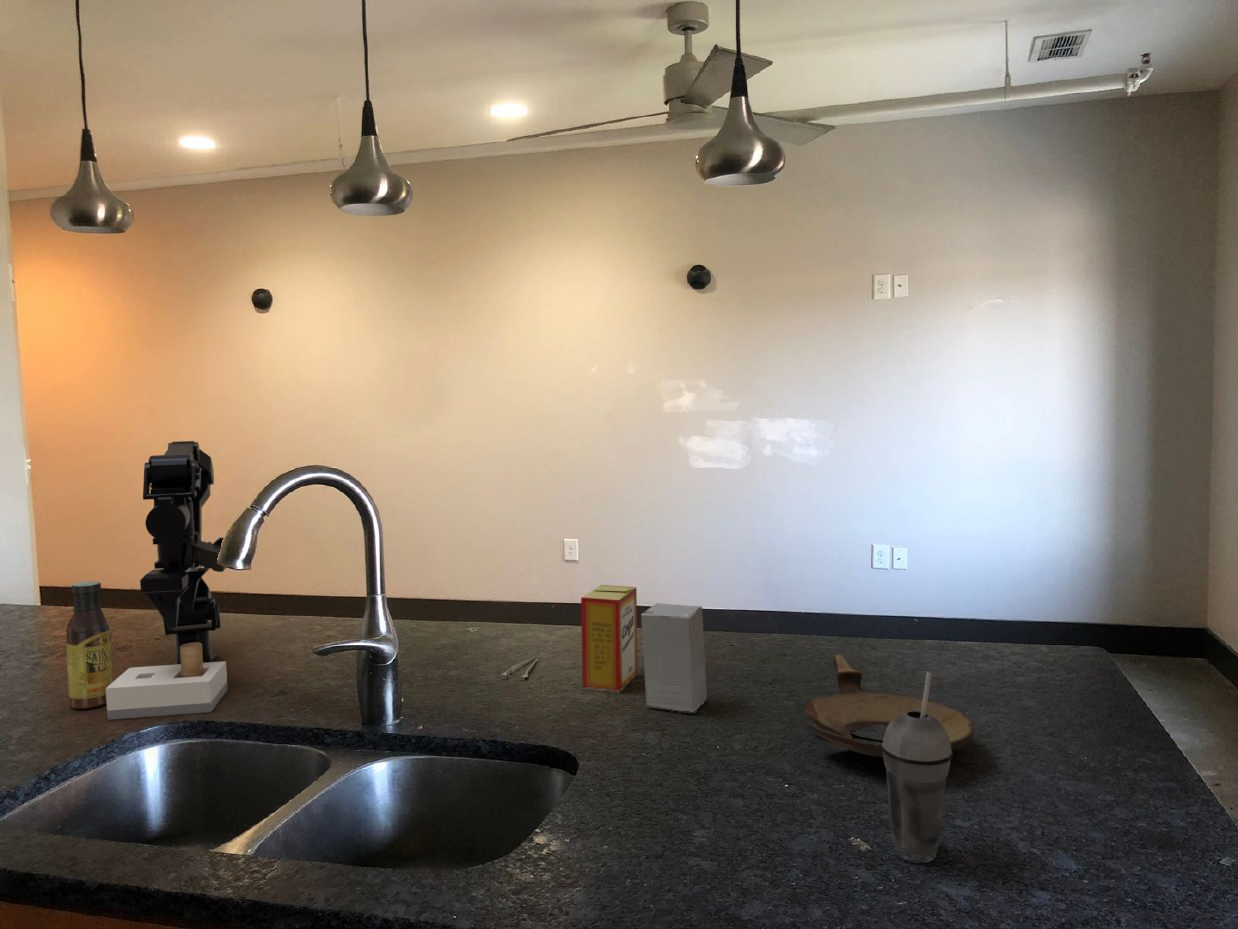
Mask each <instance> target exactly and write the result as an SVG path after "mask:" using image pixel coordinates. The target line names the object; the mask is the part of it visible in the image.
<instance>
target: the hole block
mask: <svg viewBox="0 0 1238 929" xmlns="http://www.w3.org/2000/svg"><path fill="white" fill-rule="evenodd" d="M227 673H228V671H227V661H212V662H209V663H203V674H204V675H203V676H199V677H184V678H182V675H181V664H179V665H171V664H167V665H165V664H164V665H163V664H162V665H152V666H151V665H150V666H149V665H147V666H136V667H134V666H133V667H129V668H127V669H126V670H125V671H124V672H122V673H121V674H120V675H119V676H118V677H117V678H116V679H114V680H113V682H112V683H111V684H110V685H109V686H108V687H107V688H106V701H107V704H106V711H107V712H106V714H107V721H108V720H109V721H110V720H111V721H112V720H123V719H125V720H126V719H135V718H136V719H137V718H149V717H150V718H151V717H165V716H175V715H177V716H178V715H189V714H191V715H192V714H203V713H212V712H213V711H214V709H215V708H216V707H217V705H218V703H219V702H220V701H221V700H222V699H223V697H224V695H226V693H227V692H228V691H229V690H228V676H227V675H228V674H227ZM220 699H221V700H220ZM211 711H212V712H211Z"/></svg>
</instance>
